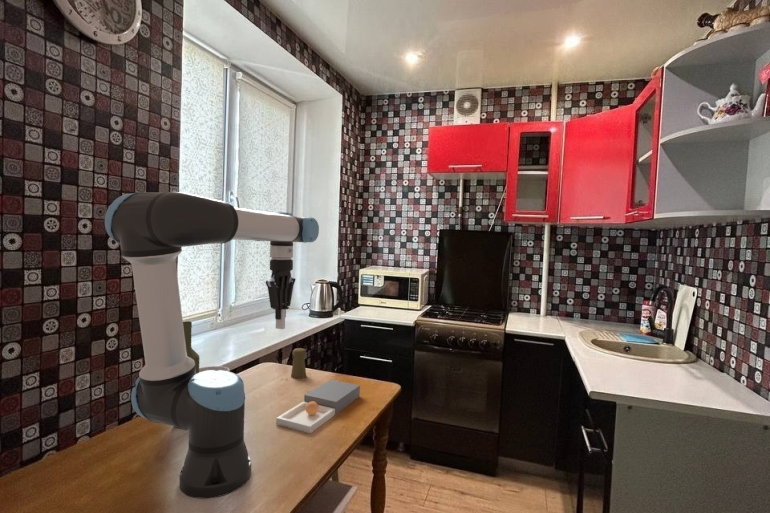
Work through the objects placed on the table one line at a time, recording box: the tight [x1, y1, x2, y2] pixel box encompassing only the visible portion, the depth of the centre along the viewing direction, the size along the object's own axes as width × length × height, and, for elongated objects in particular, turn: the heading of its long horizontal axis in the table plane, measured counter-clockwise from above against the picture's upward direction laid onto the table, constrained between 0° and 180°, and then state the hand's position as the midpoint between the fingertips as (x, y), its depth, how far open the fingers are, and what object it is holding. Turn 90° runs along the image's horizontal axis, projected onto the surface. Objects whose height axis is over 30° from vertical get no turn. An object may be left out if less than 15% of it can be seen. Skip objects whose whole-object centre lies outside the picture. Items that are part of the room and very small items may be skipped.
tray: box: [275, 400, 336, 434], centre depth 122 cm, size 14×12×2 cm
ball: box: [306, 401, 319, 415], centre depth 125 cm, size 4×4×4 cm
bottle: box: [183, 320, 201, 374], centre depth 116 cm, size 7×7×30 cm
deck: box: [303, 379, 361, 415], centre depth 136 cm, size 16×12×4 cm
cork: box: [290, 347, 307, 380], centre depth 160 cm, size 6×6×11 cm
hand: (280, 328), depth 136 cm, fingers closed
